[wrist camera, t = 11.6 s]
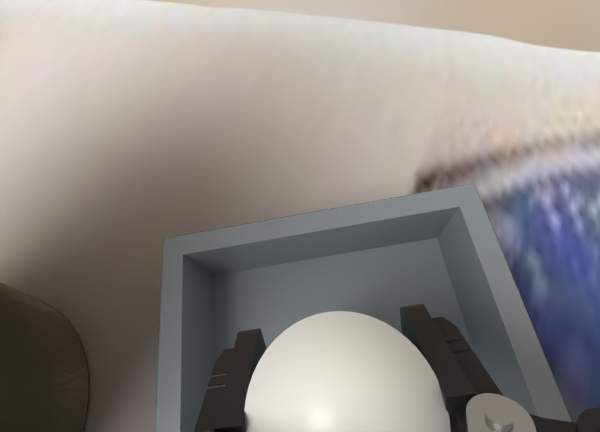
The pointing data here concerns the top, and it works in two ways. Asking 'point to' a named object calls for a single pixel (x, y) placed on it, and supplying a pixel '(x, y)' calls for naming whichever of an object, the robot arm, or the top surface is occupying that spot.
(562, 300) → the top surface
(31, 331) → the waste basket
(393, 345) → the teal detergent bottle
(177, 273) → the slate bin
